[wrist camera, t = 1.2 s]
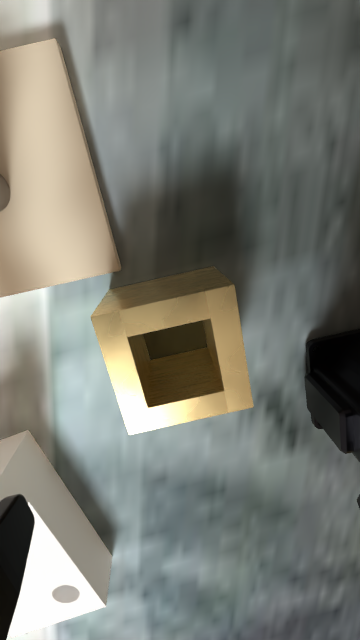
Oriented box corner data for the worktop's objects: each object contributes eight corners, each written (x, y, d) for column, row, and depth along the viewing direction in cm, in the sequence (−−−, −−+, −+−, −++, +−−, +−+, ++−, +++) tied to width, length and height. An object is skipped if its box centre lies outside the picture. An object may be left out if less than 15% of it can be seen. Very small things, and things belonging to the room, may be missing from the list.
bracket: (-67, 462, 20) (-189, 595, 13) (30, 426, 20) (-41, 543, 13) (31, 580, 24) (-21, 730, 17) (113, 552, 24) (94, 693, 17)
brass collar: (213, 266, 17) (234, 284, 12) (229, 360, 19) (253, 407, 14) (109, 289, 17) (90, 316, 12) (136, 380, 19) (129, 434, 14)
